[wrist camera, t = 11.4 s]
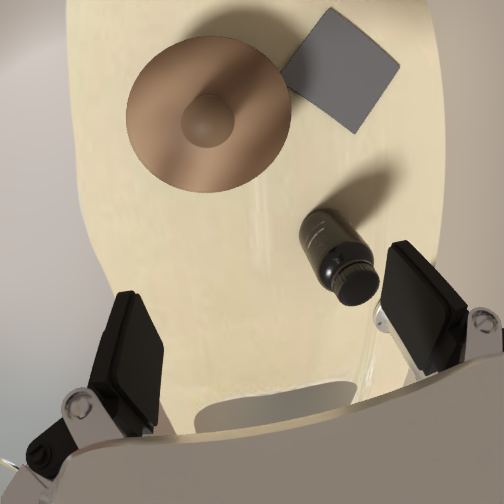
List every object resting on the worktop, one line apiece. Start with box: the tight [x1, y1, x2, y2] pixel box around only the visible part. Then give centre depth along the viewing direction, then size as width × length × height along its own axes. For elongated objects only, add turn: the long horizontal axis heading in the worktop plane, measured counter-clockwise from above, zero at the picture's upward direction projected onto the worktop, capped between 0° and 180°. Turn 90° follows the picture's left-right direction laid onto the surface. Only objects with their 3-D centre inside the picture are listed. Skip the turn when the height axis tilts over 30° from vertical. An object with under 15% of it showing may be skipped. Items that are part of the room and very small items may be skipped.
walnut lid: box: [126, 36, 291, 193], centre depth 21 cm, size 14×14×6 cm
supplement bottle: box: [299, 209, 380, 306], centre depth 33 cm, size 7×7×12 cm
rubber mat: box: [281, 8, 400, 134], centre depth 27 cm, size 11×11×1 cm
